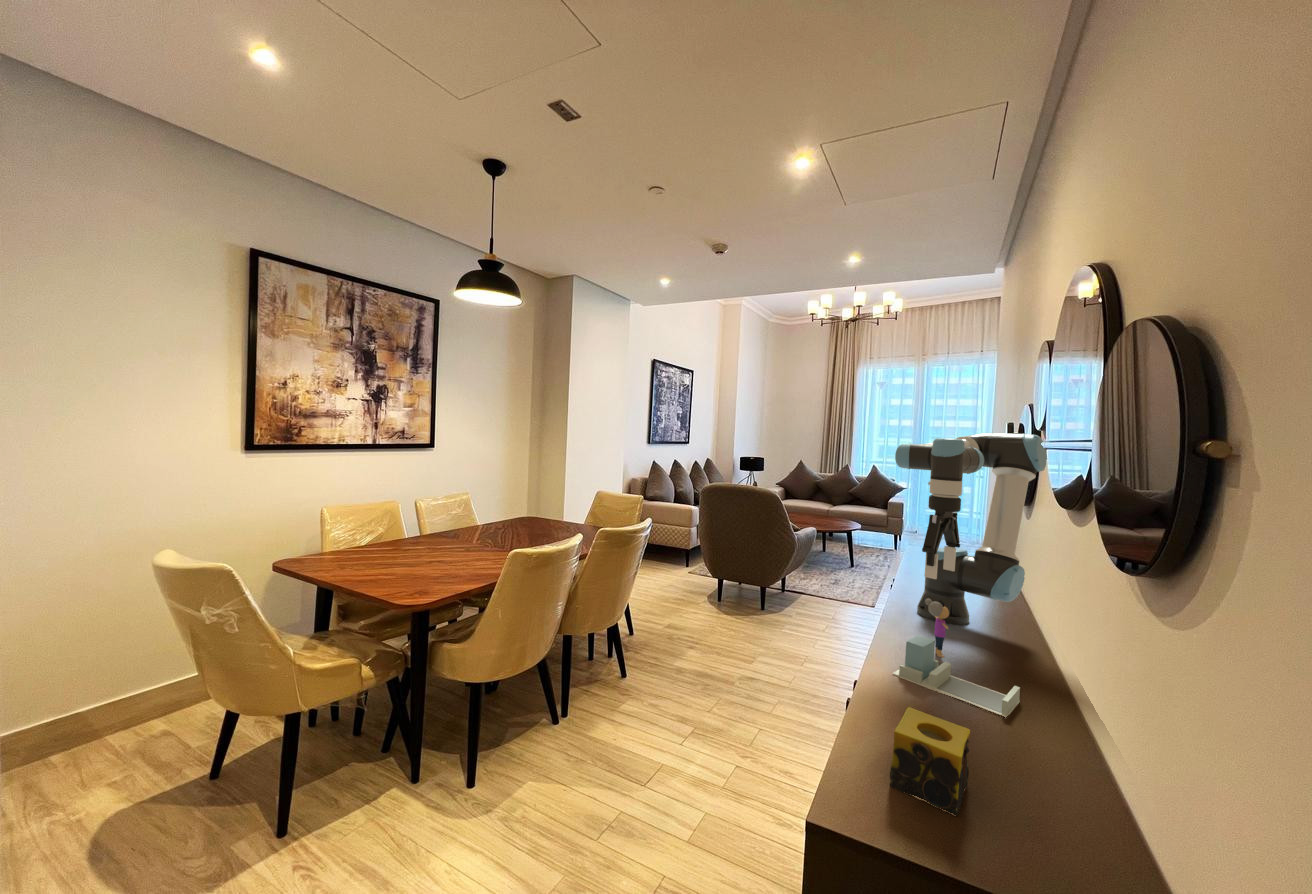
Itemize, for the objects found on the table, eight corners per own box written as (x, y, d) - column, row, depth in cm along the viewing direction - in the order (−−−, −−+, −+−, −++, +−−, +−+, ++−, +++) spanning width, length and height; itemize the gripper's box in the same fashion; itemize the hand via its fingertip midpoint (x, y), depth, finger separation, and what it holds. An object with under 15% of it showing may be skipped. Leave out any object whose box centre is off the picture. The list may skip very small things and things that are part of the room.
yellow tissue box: (903, 759, 91) (906, 705, 90) (968, 786, 84) (972, 728, 84) (887, 788, 83) (891, 729, 82) (957, 821, 76) (962, 756, 76)
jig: (910, 663, 130) (911, 649, 130) (1019, 702, 113) (1020, 686, 113) (892, 675, 123) (893, 661, 123) (1006, 719, 106) (1007, 702, 105)
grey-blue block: (916, 665, 128) (918, 634, 127) (932, 671, 125) (935, 640, 124) (904, 673, 123) (906, 641, 123) (921, 679, 120) (923, 646, 120)
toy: (953, 665, 131) (956, 608, 130) (930, 662, 132) (933, 605, 131) (938, 648, 141) (942, 595, 140) (917, 646, 142) (921, 593, 142)
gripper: (946, 491, 146) (941, 564, 147) (911, 496, 129) (906, 577, 130) (975, 495, 140) (970, 570, 141) (943, 500, 124) (938, 585, 124)
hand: (940, 574), depth 136 cm, fingers open, 13 cm apart
